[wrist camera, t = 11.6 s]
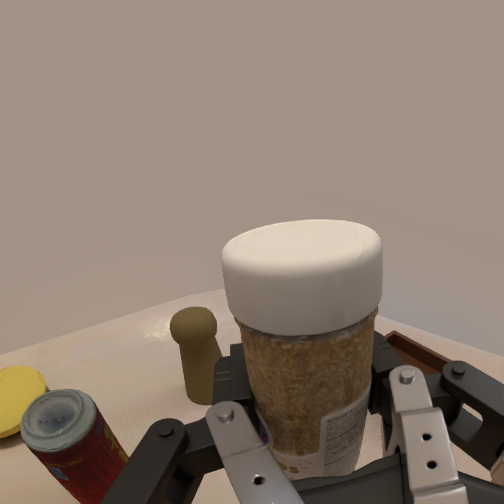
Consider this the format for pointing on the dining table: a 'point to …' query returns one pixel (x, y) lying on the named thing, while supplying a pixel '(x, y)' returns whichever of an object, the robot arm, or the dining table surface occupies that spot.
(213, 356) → the chess piece
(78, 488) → the soda can
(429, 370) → the serving tray
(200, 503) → the dining table surface
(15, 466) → the dining table surface
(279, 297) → the sprinkles bottle
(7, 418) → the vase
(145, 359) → the dining table surface
